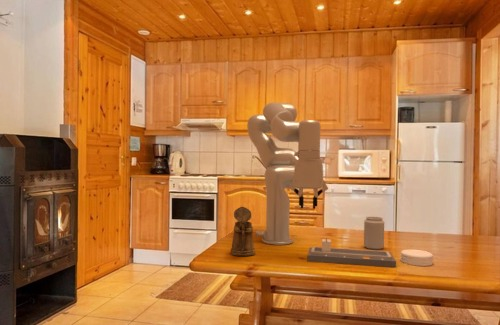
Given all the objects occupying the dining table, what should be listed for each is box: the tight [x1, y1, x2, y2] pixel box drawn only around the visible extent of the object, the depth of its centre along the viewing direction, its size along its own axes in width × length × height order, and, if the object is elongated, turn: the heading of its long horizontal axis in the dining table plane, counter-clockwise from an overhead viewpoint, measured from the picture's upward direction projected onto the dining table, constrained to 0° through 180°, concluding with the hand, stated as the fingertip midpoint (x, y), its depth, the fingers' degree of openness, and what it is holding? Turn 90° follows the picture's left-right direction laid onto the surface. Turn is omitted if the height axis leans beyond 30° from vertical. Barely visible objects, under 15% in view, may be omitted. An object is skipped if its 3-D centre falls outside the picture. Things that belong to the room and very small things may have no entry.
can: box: [363, 216, 385, 251], centre depth 148 cm, size 8×8×12 cm
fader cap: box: [321, 237, 332, 252], centre depth 131 cm, size 3×4×4 cm
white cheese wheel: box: [400, 248, 434, 267], centre depth 128 cm, size 10×10×4 cm
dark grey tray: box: [307, 246, 397, 268], centre depth 130 cm, size 28×12×3 cm, turn 78°
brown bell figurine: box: [229, 206, 256, 257], centre depth 134 cm, size 9×14×18 cm, turn 178°
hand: (308, 207), depth 133 cm, fingers open, 3 cm apart
